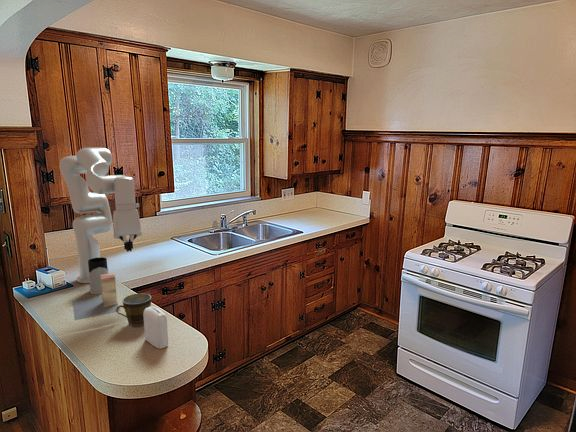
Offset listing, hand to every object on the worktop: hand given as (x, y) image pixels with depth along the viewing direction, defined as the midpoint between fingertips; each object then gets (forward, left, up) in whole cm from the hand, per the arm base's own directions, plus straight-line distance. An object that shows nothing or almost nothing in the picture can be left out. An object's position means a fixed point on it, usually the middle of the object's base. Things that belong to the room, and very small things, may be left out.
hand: (128, 250), depth 160 cm
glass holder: (-20, -11, -22) cm, 32 cm away
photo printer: (+41, +1, -22) cm, 47 cm away
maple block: (0, -9, -22) cm, 23 cm away
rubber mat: (0, -14, -22) cm, 26 cm away
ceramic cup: (+24, -3, -22) cm, 33 cm away
